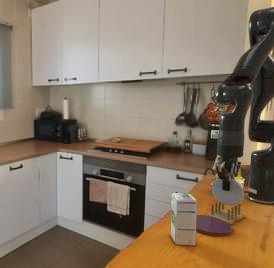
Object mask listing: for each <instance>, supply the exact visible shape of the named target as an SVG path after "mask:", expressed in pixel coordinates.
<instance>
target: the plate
mask: <svg viewBox="0 0 274 268" xmlns="http://www.w3.org/2000/svg"><path fill="white" fill-rule="evenodd" d="M222 182H223V180H222V179H219V177H218V178H216V179H215V180H214V181H213V182H212V183H211V186H210V187H211V189H210V190H211V194H212V196H213V197H214V199H215V200H216V201H218V203H219V202H220V203H221V205H222V204H224V206H235V205H236V206H237V205H238V204H241V202H243V200H244V198H245V190H244V188H243V186H242V185H241V184H240V182H238V181H237V180H236V179H235V178H234V179H232V178H231V180H230V191H224V190H222Z"/></svg>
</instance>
